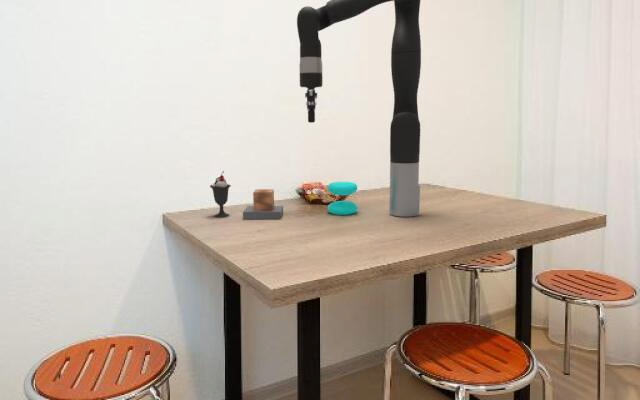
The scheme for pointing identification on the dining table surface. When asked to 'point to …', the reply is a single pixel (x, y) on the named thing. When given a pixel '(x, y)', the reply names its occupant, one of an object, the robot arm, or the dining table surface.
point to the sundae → (220, 194)
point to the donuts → (342, 206)
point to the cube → (263, 199)
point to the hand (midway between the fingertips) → (311, 122)
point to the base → (262, 213)
